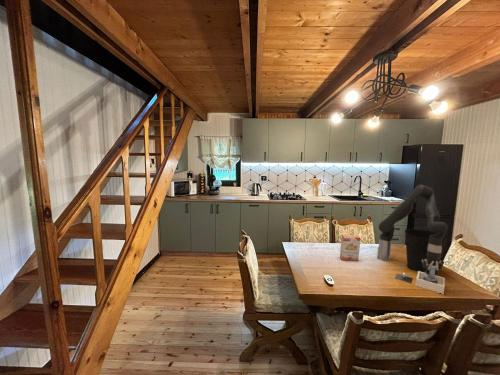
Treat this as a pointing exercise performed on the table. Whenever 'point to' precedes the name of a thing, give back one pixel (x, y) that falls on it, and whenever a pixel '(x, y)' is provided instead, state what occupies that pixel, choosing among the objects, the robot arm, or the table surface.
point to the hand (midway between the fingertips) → (431, 274)
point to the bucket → (418, 248)
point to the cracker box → (350, 247)
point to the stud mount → (404, 278)
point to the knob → (431, 275)
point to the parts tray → (430, 283)
